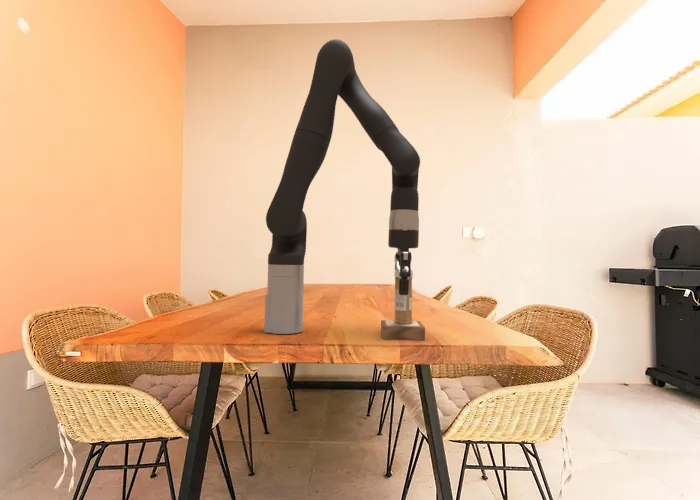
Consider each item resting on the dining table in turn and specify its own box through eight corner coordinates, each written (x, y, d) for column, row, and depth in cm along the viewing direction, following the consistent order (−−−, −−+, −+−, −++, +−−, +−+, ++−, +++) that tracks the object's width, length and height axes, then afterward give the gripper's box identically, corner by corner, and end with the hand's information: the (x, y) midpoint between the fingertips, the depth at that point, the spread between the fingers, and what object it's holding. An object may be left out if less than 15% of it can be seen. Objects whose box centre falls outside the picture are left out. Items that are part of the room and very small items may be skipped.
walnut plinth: (382, 339, 98) (383, 325, 98) (380, 331, 108) (381, 319, 108) (424, 340, 98) (425, 326, 98) (419, 332, 108) (419, 320, 108)
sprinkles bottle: (416, 323, 102) (416, 269, 103) (402, 324, 100) (402, 269, 100) (403, 321, 106) (404, 269, 106) (390, 322, 104) (390, 269, 104)
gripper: (387, 230, 111) (385, 290, 110) (390, 226, 96) (388, 295, 96) (415, 231, 110) (413, 291, 110) (422, 227, 96) (420, 296, 96)
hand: (401, 293), depth 103 cm, fingers open, 8 cm apart
